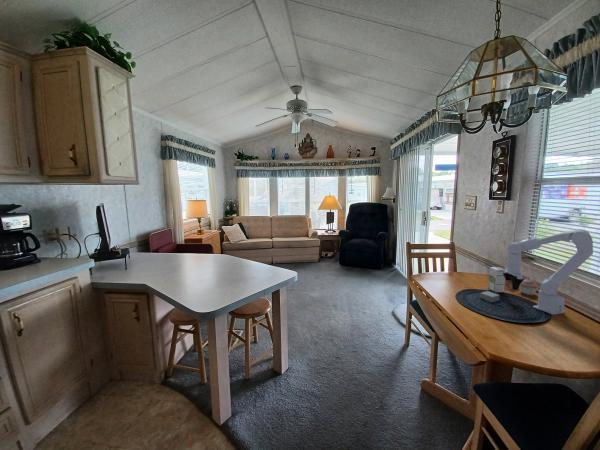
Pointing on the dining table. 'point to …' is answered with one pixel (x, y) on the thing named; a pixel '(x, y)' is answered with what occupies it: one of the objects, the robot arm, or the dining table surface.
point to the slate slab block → (489, 296)
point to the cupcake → (528, 287)
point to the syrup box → (496, 279)
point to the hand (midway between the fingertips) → (511, 287)
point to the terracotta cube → (509, 286)
